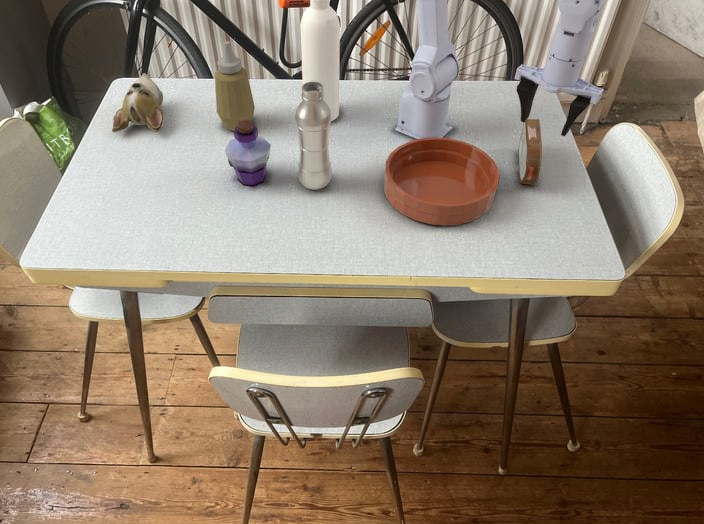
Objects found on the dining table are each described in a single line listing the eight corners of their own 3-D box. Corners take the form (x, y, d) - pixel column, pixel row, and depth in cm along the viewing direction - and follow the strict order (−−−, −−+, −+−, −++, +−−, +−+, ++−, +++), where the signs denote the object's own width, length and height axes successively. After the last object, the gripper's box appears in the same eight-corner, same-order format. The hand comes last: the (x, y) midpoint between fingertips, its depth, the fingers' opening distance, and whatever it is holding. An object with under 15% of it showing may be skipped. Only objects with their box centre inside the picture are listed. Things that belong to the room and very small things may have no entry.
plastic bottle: (336, 176, 111) (337, 80, 96) (325, 197, 107) (324, 100, 92) (305, 169, 113) (301, 74, 98) (293, 190, 109) (287, 94, 94)
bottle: (327, 100, 130) (326, -45, 107) (346, 116, 125) (349, -32, 103) (296, 111, 127) (289, -36, 105) (315, 128, 123) (311, -22, 100)
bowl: (362, 198, 107) (363, 176, 103) (419, 147, 117) (422, 125, 114) (459, 243, 98) (464, 222, 95) (512, 184, 109) (518, 162, 105)
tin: (534, 194, 107) (546, 156, 101) (516, 192, 107) (528, 154, 101) (530, 147, 117) (542, 110, 110) (514, 146, 117) (525, 109, 111)
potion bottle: (227, 167, 114) (218, 113, 105) (270, 161, 115) (265, 107, 106) (232, 194, 108) (223, 140, 99) (277, 188, 109) (272, 133, 100)
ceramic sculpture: (167, 65, 123) (152, 106, 114) (176, 101, 130) (163, 142, 121) (118, 66, 124) (100, 107, 115) (129, 101, 131) (113, 142, 121)
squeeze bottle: (264, 120, 125) (256, 39, 111) (241, 139, 120) (230, 56, 107) (234, 110, 128) (223, 29, 114) (211, 127, 123) (196, 45, 110)
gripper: (515, 50, 95) (497, 123, 105) (603, 76, 89) (575, 150, 99) (532, 35, 98) (514, 106, 109) (618, 58, 92) (589, 131, 103)
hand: (544, 126), depth 104 cm, fingers open, 7 cm apart
